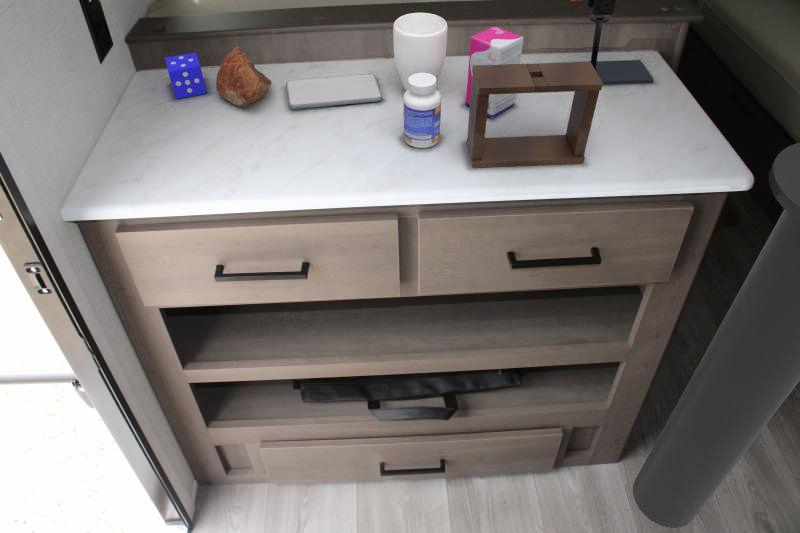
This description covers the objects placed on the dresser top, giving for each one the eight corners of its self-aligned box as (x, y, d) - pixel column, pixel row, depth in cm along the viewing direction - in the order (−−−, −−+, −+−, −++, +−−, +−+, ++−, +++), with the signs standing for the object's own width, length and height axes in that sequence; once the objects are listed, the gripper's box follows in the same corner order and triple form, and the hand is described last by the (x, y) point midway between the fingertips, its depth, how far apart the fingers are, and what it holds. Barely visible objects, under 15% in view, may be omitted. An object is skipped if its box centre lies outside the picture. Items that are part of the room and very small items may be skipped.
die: (207, 94, 104) (200, 65, 100) (176, 99, 103) (168, 71, 99) (202, 79, 107) (196, 52, 104) (172, 85, 106) (164, 57, 103)
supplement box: (515, 105, 101) (525, 36, 93) (491, 119, 98) (499, 49, 90) (487, 92, 104) (494, 24, 96) (463, 105, 101) (469, 36, 93)
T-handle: (619, 64, 109) (634, -23, 98) (624, 72, 106) (640, -15, 96) (560, 69, 109) (570, -16, 99) (565, 78, 107) (574, -9, 97)
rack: (572, 139, 94) (590, 61, 85) (583, 163, 90) (603, 83, 81) (466, 144, 93) (472, 65, 85) (471, 168, 89) (479, 87, 80)
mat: (639, 62, 111) (640, 59, 110) (653, 82, 106) (654, 79, 105) (549, 65, 110) (549, 62, 110) (558, 86, 105) (559, 82, 105)
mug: (447, 103, 102) (451, 34, 94) (396, 105, 101) (395, 36, 93) (438, 67, 110) (440, 1, 102) (390, 69, 110) (389, 3, 101)
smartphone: (383, 97, 101) (288, 106, 99) (383, 102, 102) (289, 111, 100) (374, 72, 107) (285, 80, 105) (374, 77, 108) (286, 85, 105)
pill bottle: (441, 148, 93) (444, 88, 86) (404, 150, 92) (404, 90, 85) (437, 128, 96) (440, 69, 90) (402, 129, 96) (402, 70, 89)
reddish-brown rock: (219, 53, 106) (233, 14, 98) (267, 70, 110) (285, 34, 102) (206, 115, 101) (220, 79, 93) (257, 131, 105) (275, 97, 97)
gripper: (676, -105, 82) (638, 32, 95) (637, -137, 93) (608, -11, 106) (619, -104, 82) (589, 33, 95) (587, -137, 93) (564, -10, 106)
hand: (599, 9), depth 100 cm, fingers closed on T-handle, 2 cm apart
